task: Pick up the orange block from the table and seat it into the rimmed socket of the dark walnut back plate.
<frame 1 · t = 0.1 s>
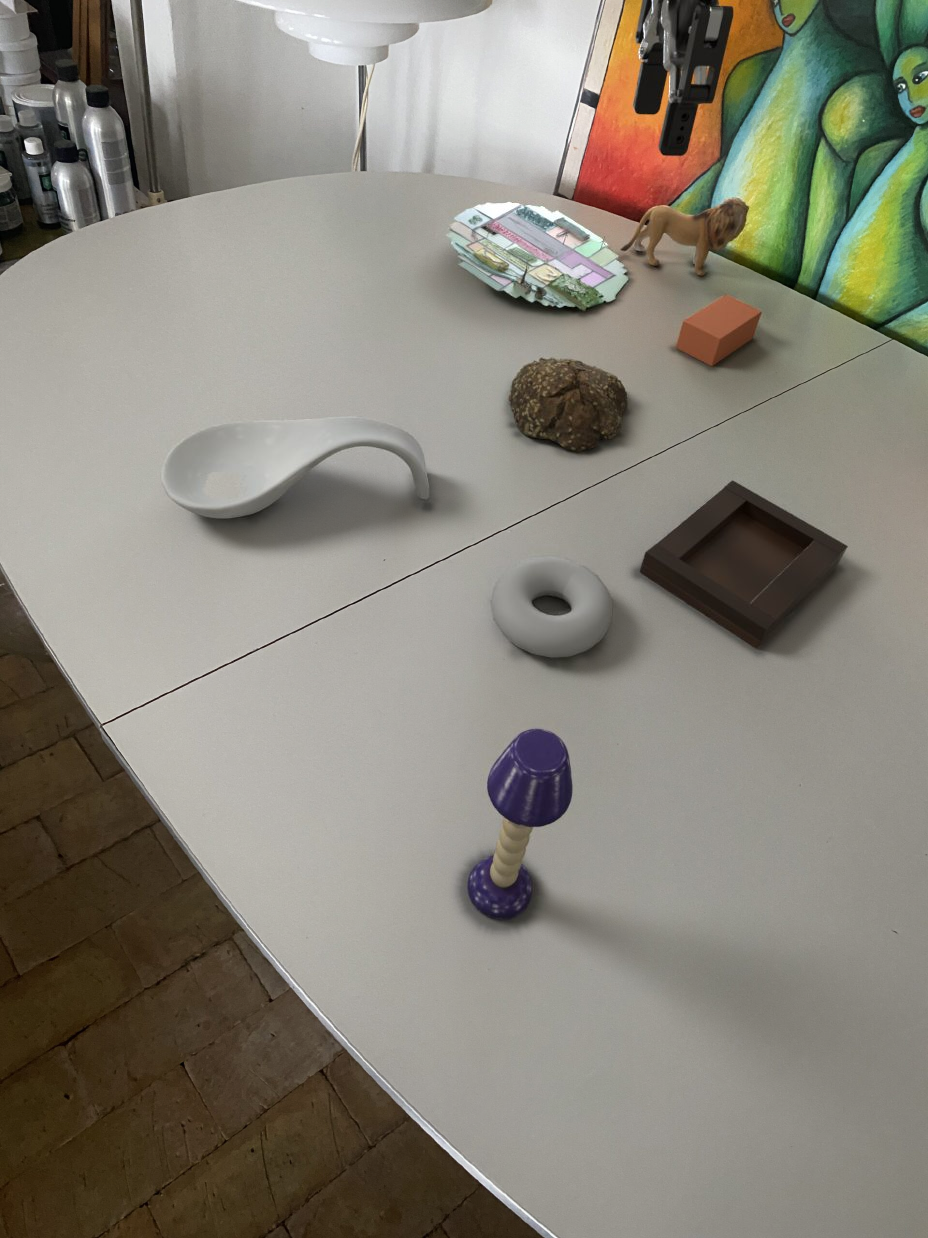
hand: (657, 132, 72), 27 cm above the table, tool pointing down, fingers open, 8 cm apart
back plate: (739, 568, 78), on the table
donut: (548, 620, 73), on the table
city model: (536, 270, 111), on the table
toy lamp: (504, 889, 57), on the table
orange block: (714, 342, 102), on the table
bread roll: (565, 415, 91), on the table
lion figurine: (678, 263, 114), on the table
spoon rest: (300, 493, 81), on the table
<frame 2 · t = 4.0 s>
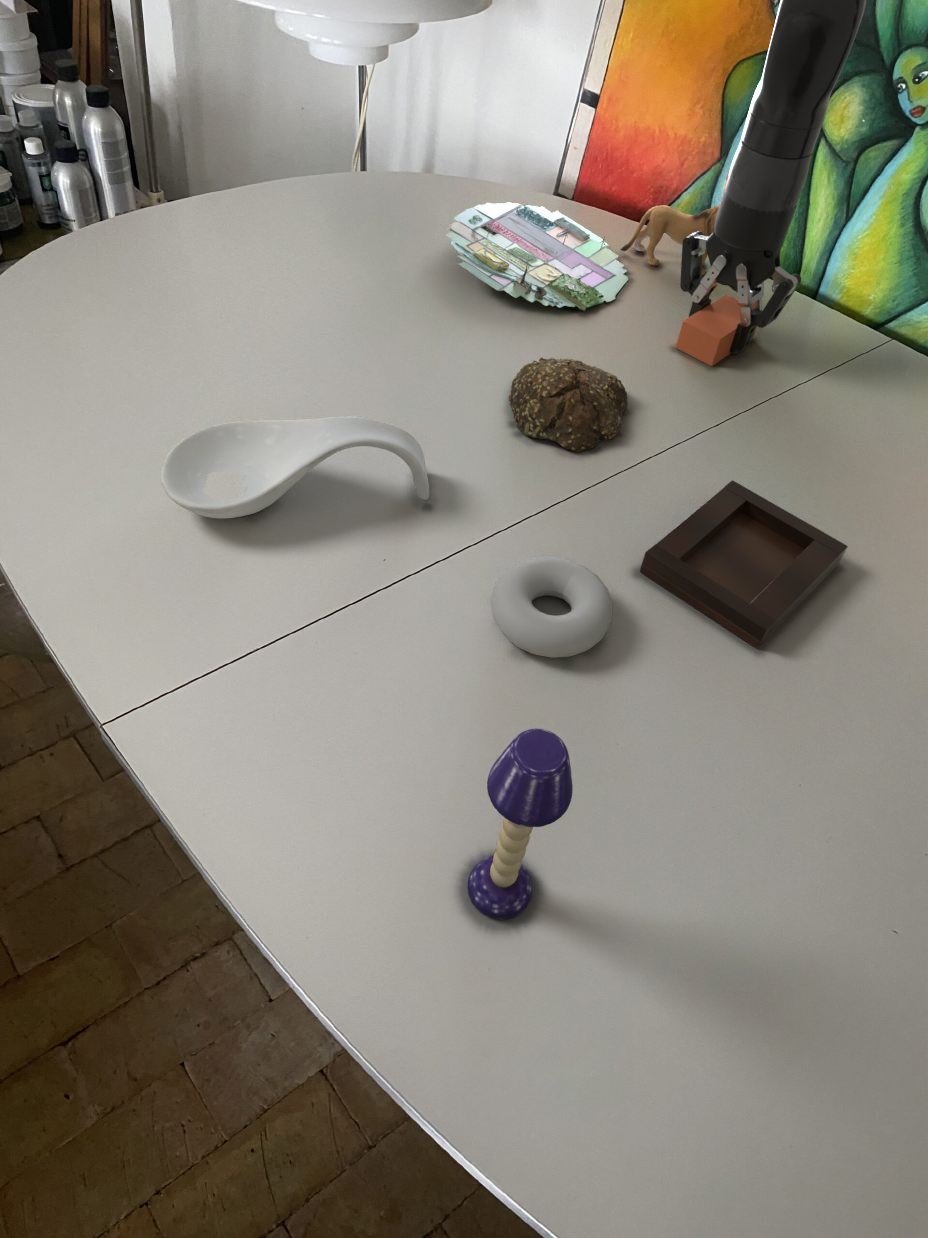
hand: (715, 339, 102), 0 cm above the table, tool pointing down, fingers closed on orange block, 5 cm apart
orange block: (714, 342, 102), on the table, touching gripper
everything else where it was.
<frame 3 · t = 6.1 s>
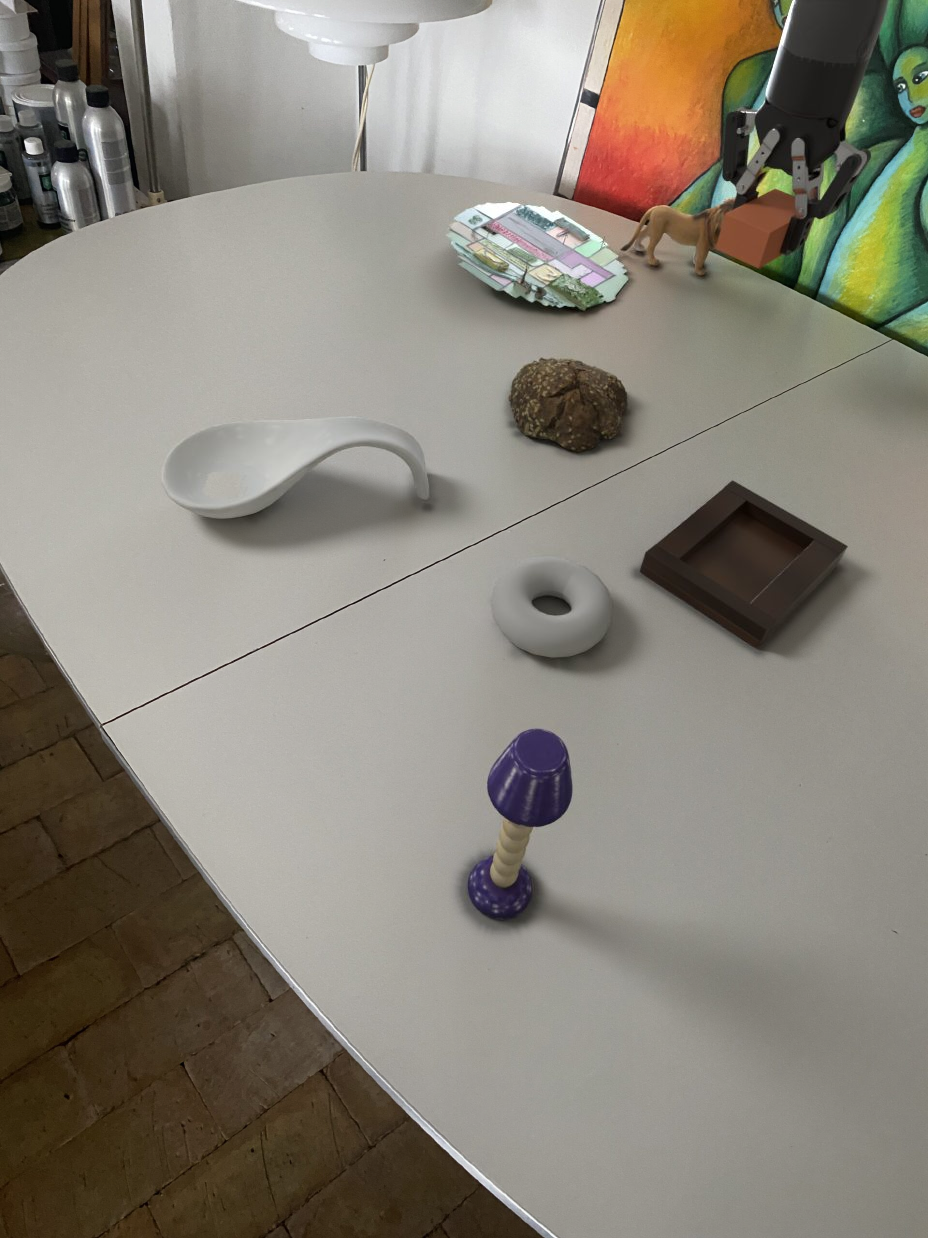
hand: (762, 240, 86), 15 cm above the table, tool pointing down, fingers closed on orange block, 5 cm apart
orange block: (761, 244, 86), point 15 cm above the table, touching gripper
everything else where it was.
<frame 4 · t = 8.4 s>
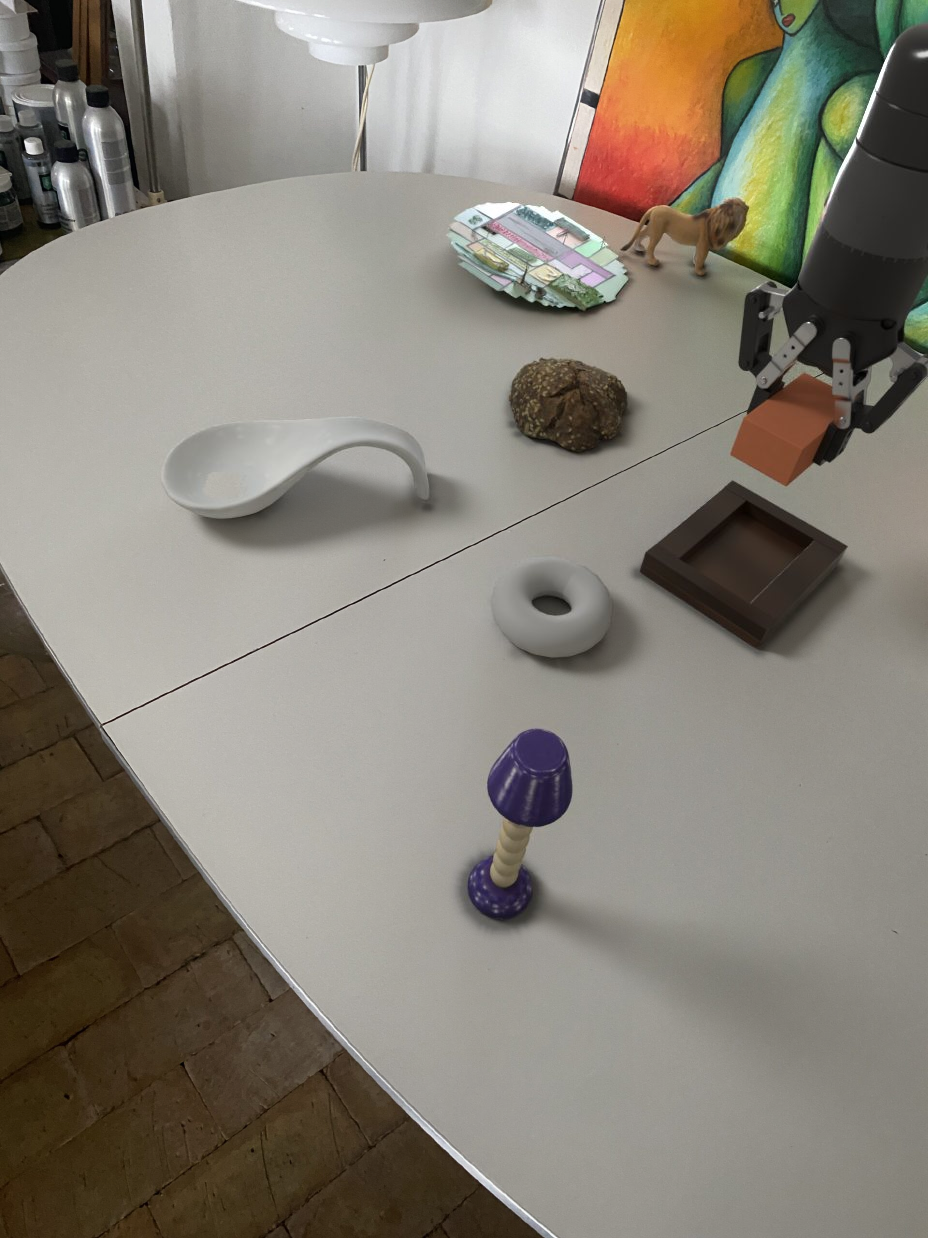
hand: (789, 441, 68), 14 cm above the table, tool pointing down, fingers closed on orange block, 5 cm apart
orange block: (787, 446, 68), point 13 cm above the table, touching gripper
everything else where it was.
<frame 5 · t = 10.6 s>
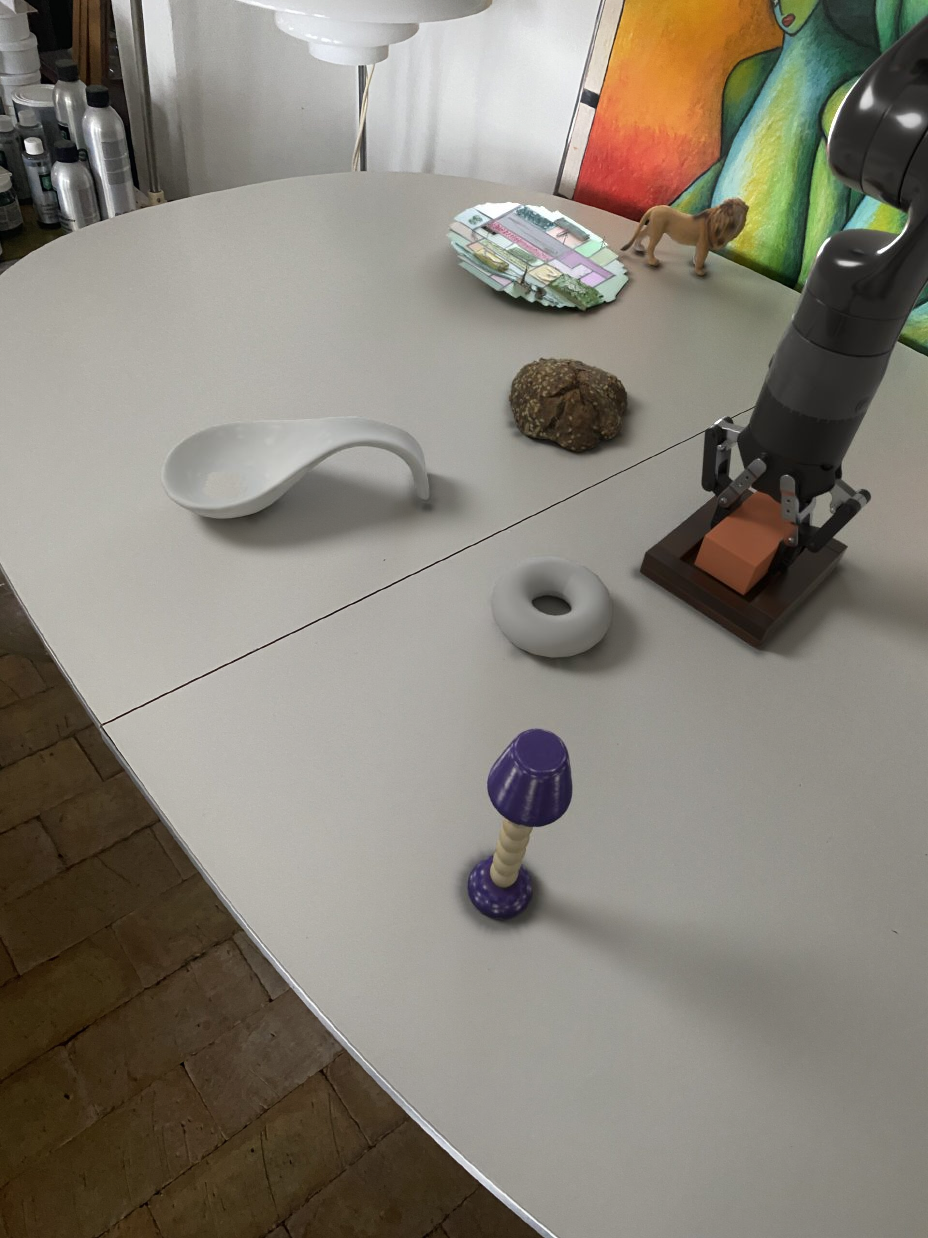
hand: (747, 550, 76), 2 cm above the table, tool pointing down, fingers closed on orange block, 5 cm apart
orange block: (746, 554, 76), point 2 cm above the table, touching gripper
everything else where it was.
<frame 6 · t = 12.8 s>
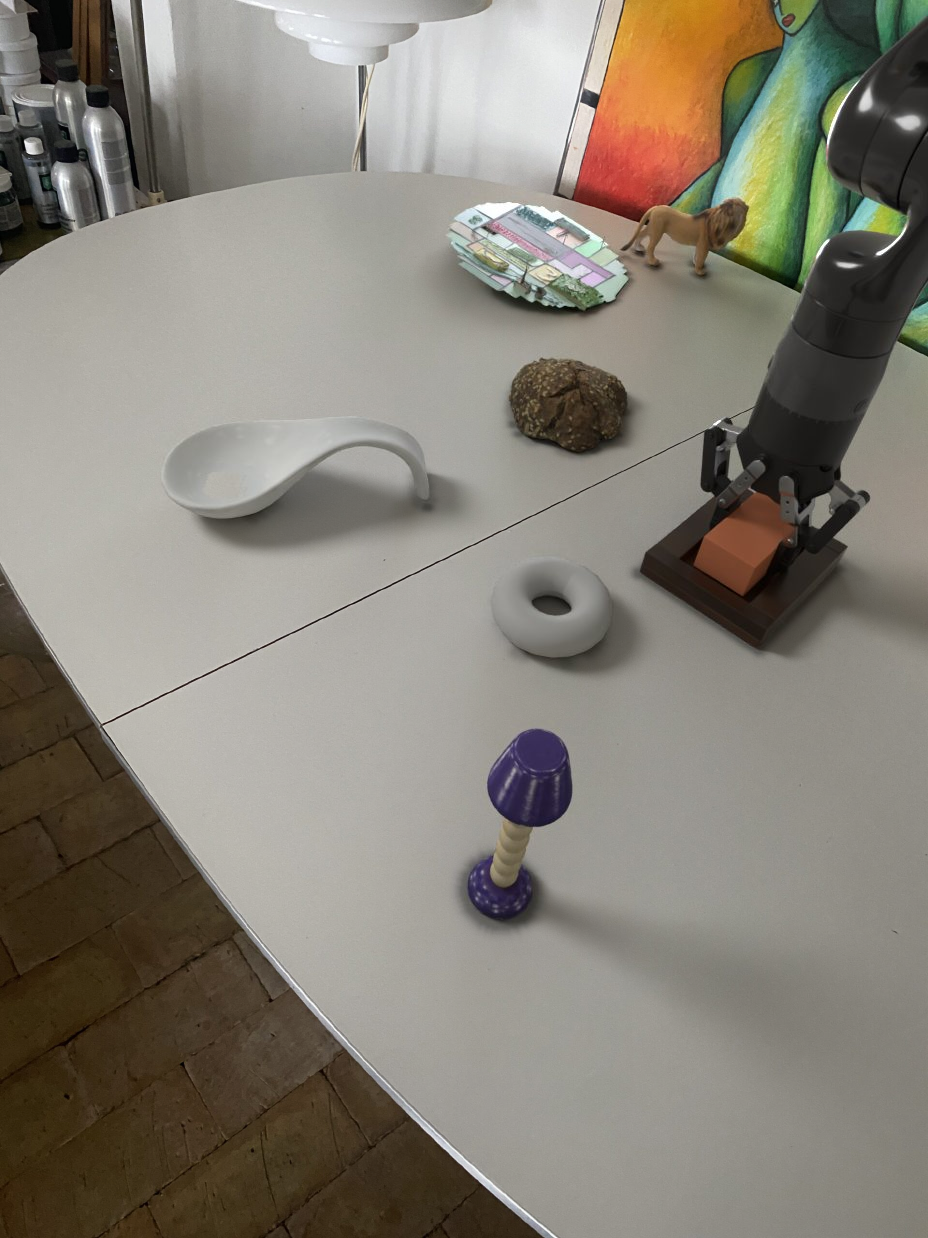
hand: (746, 551, 76), 2 cm above the table, tool pointing down, fingers closed on orange block, 5 cm apart
orange block: (745, 555, 76), point 2 cm above the table, touching gripper
everything else where it was.
when the fingers open (2 cm above the table, at t = 13.9 s): orange block stays where it is, resting on back plate.
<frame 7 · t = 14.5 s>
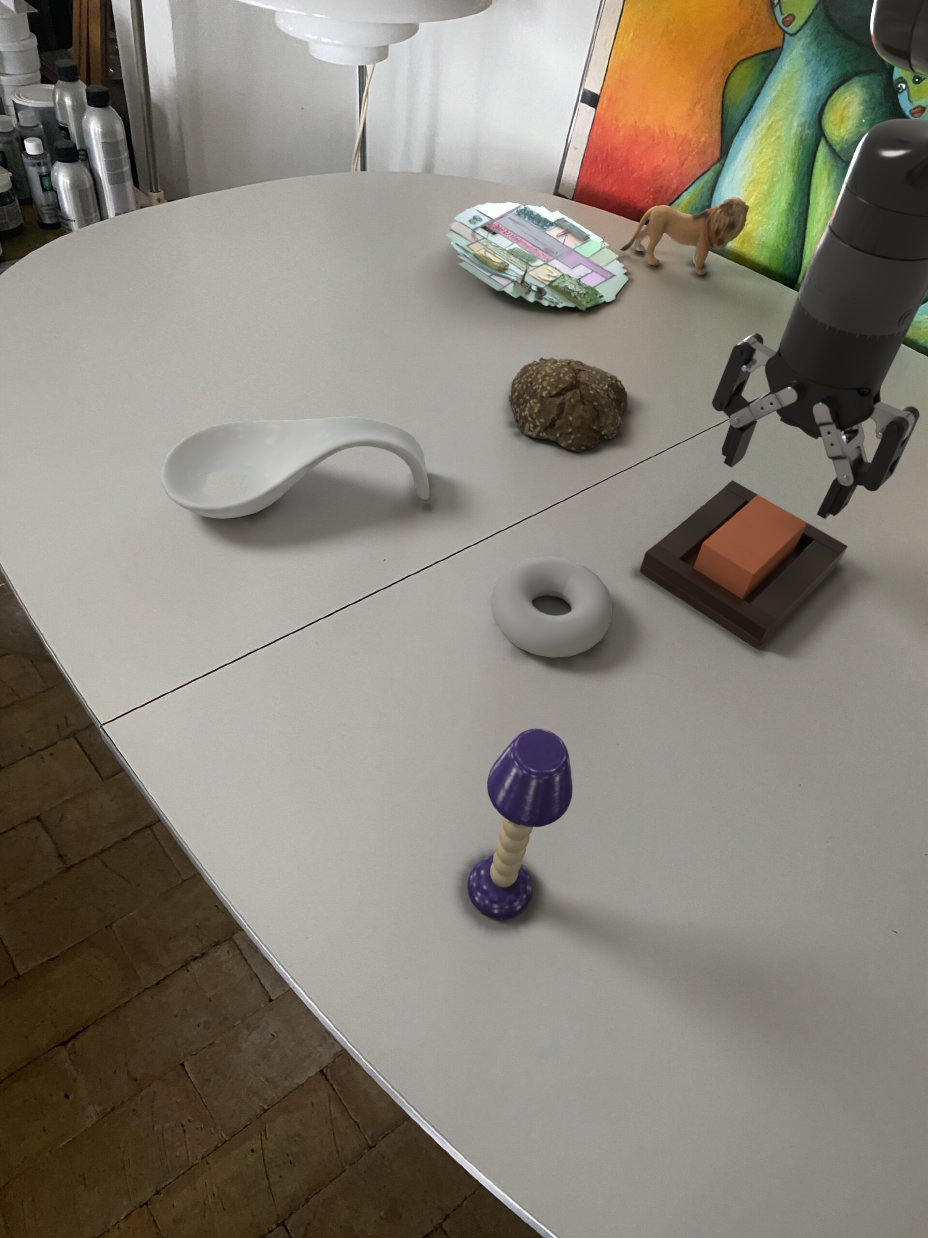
hand: (778, 486, 70), 10 cm above the table, tool pointing down, fingers open, 8 cm apart
orange block: (743, 561, 77), point 1 cm above the table, touching back plate
everything else where it was.
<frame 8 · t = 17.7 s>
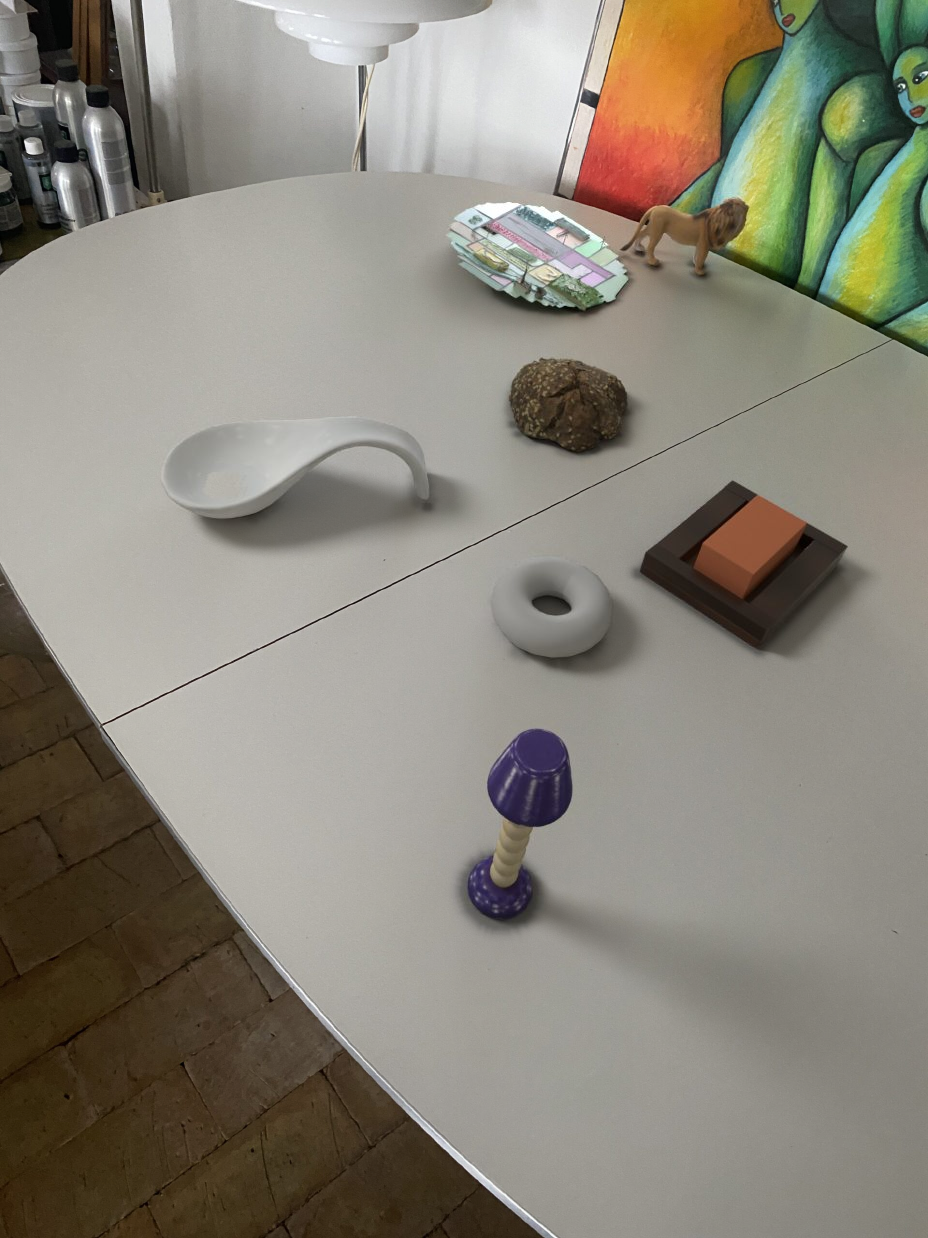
nothing on the table moved.
at the end: orange block 0.1 cm off-centre on the back plate, point 1.0 cm above the back plate's base; orange block tilted 0°; the gripper is holding nothing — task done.
